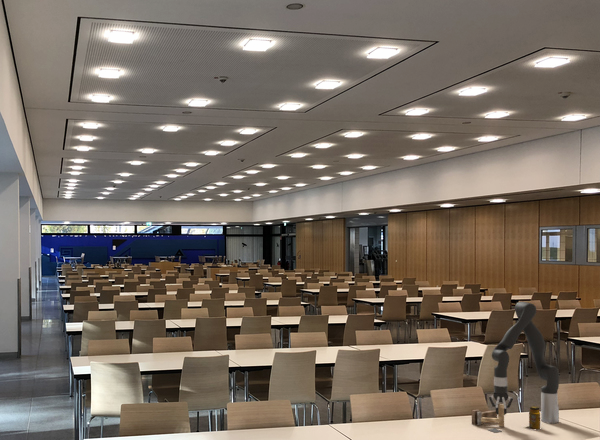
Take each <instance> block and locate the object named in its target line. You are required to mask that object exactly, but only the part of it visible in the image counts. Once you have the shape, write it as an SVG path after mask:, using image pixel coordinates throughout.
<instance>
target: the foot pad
mask: <svg viewBox="0 0 600 440" xmlns="http://www.w3.org/2000/svg"><path fill="white" fill-rule="evenodd" d="M487 431H488V432H492V433H494V434H496V433H502V431H503V430H501V429H498V428H489V429H487Z"/></svg>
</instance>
